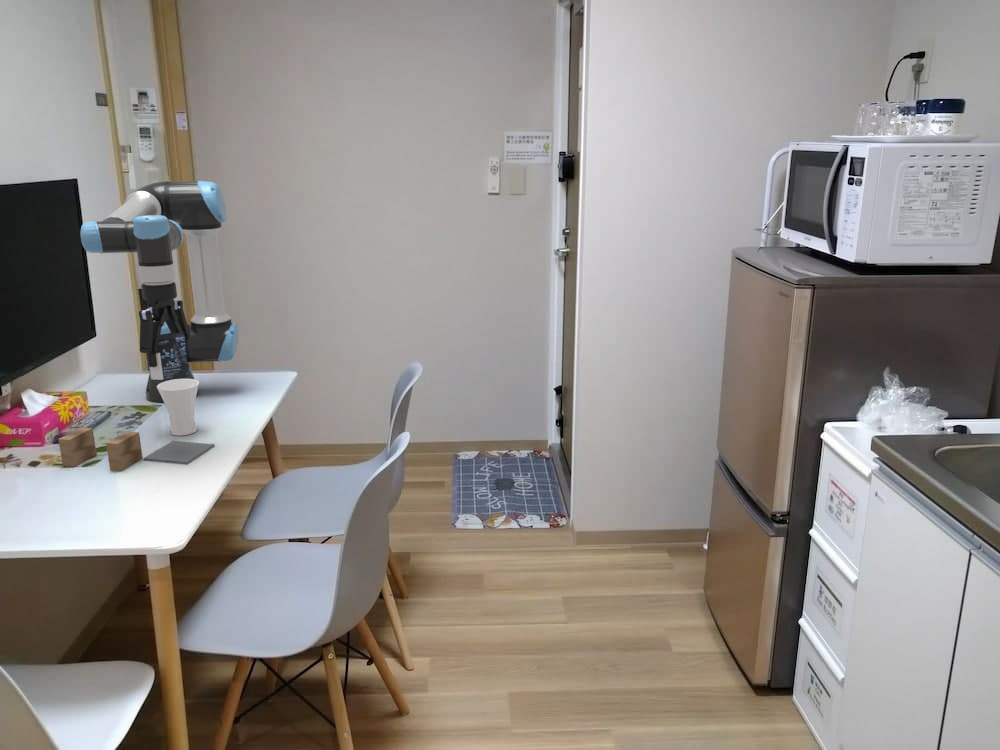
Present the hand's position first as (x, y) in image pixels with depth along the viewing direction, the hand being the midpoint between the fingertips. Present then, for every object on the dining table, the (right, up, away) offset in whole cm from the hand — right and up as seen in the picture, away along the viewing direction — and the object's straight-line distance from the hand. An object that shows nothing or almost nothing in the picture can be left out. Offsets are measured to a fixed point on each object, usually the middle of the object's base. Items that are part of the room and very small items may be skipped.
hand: (169, 373), depth 187 cm
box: (0, -1, 0) cm, 1 cm away
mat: (0, -20, +6) cm, 21 cm away
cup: (-5, -16, +21) cm, 27 cm away
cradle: (-16, -22, 0) cm, 27 cm away
